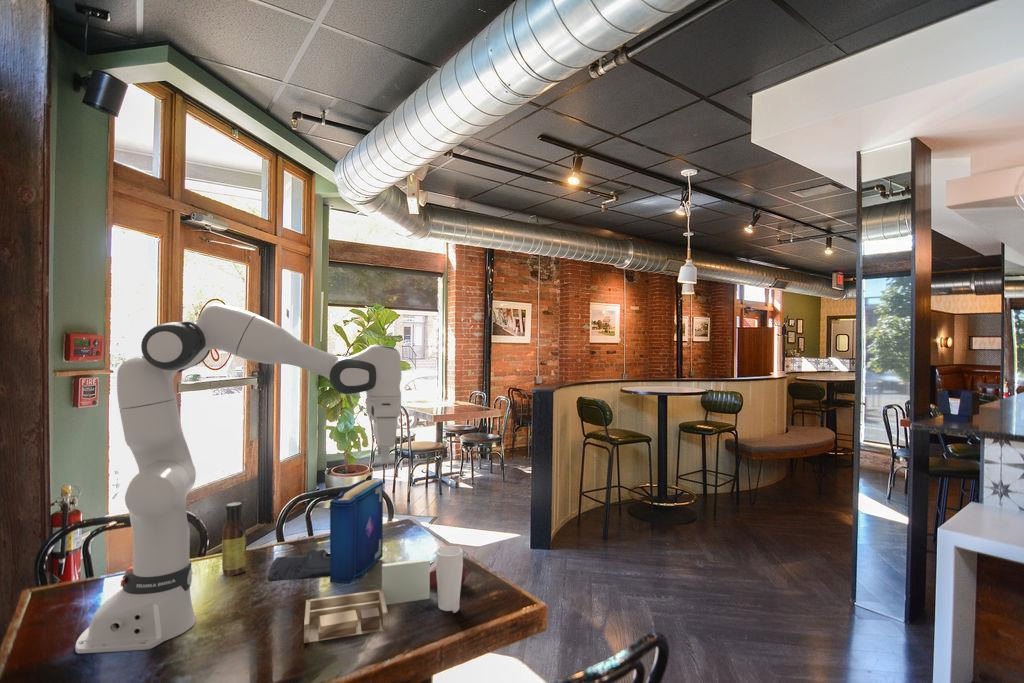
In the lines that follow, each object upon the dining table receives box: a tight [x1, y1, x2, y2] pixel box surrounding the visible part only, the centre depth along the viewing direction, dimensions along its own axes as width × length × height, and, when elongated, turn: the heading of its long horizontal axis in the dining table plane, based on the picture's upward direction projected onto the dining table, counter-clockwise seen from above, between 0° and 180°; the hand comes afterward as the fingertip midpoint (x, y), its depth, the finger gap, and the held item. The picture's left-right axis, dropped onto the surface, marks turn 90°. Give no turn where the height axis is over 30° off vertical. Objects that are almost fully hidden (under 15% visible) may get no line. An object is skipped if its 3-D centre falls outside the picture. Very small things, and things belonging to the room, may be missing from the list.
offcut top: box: [319, 610, 358, 633], centre depth 121 cm, size 8×5×2 cm, turn 113°
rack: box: [303, 589, 389, 644], centre depth 125 cm, size 18×12×5 cm, turn 109°
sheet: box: [381, 558, 431, 606], centre depth 136 cm, size 12×2×11 cm, turn 109°
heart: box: [430, 559, 469, 590], centre depth 148 cm, size 12×8×10 cm
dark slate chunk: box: [267, 549, 330, 582], centre depth 158 cm, size 15×22×5 cm
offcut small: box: [361, 608, 380, 631], centre depth 124 cm, size 4×4×3 cm
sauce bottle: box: [221, 501, 247, 577], centre depth 155 cm, size 7×6×20 cm
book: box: [329, 478, 384, 584], centre depth 156 cm, size 22×7×25 cm, turn 169°
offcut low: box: [318, 623, 356, 639], centre depth 121 cm, size 8×5×2 cm, turn 109°
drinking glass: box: [435, 545, 464, 614], centre depth 134 cm, size 7×7×15 cm
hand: (382, 459), depth 139 cm, fingers open, 8 cm apart
